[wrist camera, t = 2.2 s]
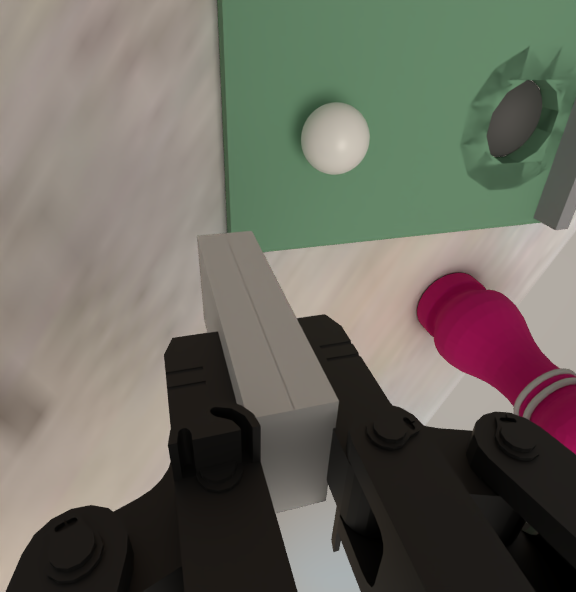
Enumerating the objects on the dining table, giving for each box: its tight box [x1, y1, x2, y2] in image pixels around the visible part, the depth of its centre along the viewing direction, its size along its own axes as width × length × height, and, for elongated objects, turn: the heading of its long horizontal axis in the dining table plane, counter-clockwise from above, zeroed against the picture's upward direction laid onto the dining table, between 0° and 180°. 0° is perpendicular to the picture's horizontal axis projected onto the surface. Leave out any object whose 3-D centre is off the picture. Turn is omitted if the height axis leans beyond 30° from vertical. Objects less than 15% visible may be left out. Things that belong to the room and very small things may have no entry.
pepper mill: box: [417, 273, 576, 454], centre depth 34 cm, size 7×7×20 cm
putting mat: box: [217, 0, 576, 252], centre depth 30 cm, size 28×16×4 cm, turn 88°
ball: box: [301, 102, 370, 175], centre depth 27 cm, size 4×4×4 cm
